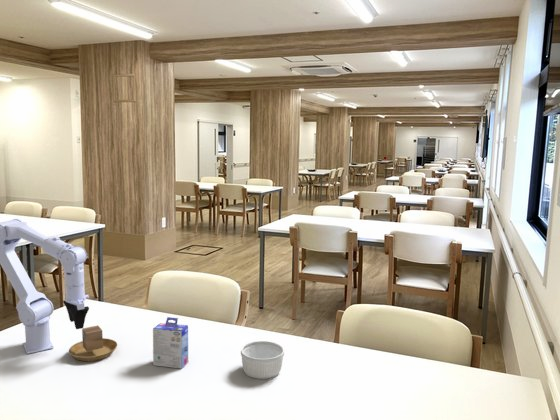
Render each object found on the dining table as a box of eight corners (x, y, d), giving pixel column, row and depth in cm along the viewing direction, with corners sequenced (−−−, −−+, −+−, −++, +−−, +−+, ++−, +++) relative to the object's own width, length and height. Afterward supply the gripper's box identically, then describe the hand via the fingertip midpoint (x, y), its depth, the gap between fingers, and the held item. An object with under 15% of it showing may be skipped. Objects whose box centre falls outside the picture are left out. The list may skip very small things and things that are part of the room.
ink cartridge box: (189, 361, 149) (189, 317, 147) (182, 369, 144) (181, 324, 142) (160, 358, 151) (159, 315, 149) (152, 365, 146) (151, 321, 144)
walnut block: (82, 346, 154) (82, 328, 153) (98, 342, 157) (97, 325, 156) (86, 351, 150) (86, 333, 149) (102, 347, 153) (102, 330, 152)
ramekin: (290, 366, 147) (291, 345, 146) (272, 385, 135) (272, 362, 134) (253, 358, 152) (253, 337, 152) (232, 375, 141) (232, 353, 140)
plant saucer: (100, 341, 164) (100, 334, 164) (126, 352, 156) (126, 345, 155) (60, 356, 152) (59, 348, 152) (85, 369, 144) (85, 361, 143)
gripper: (93, 287, 148) (95, 329, 150) (82, 277, 160) (84, 315, 162) (69, 291, 144) (71, 333, 146) (59, 280, 156) (61, 319, 157)
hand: (76, 324), depth 153 cm, fingers open, 7 cm apart
